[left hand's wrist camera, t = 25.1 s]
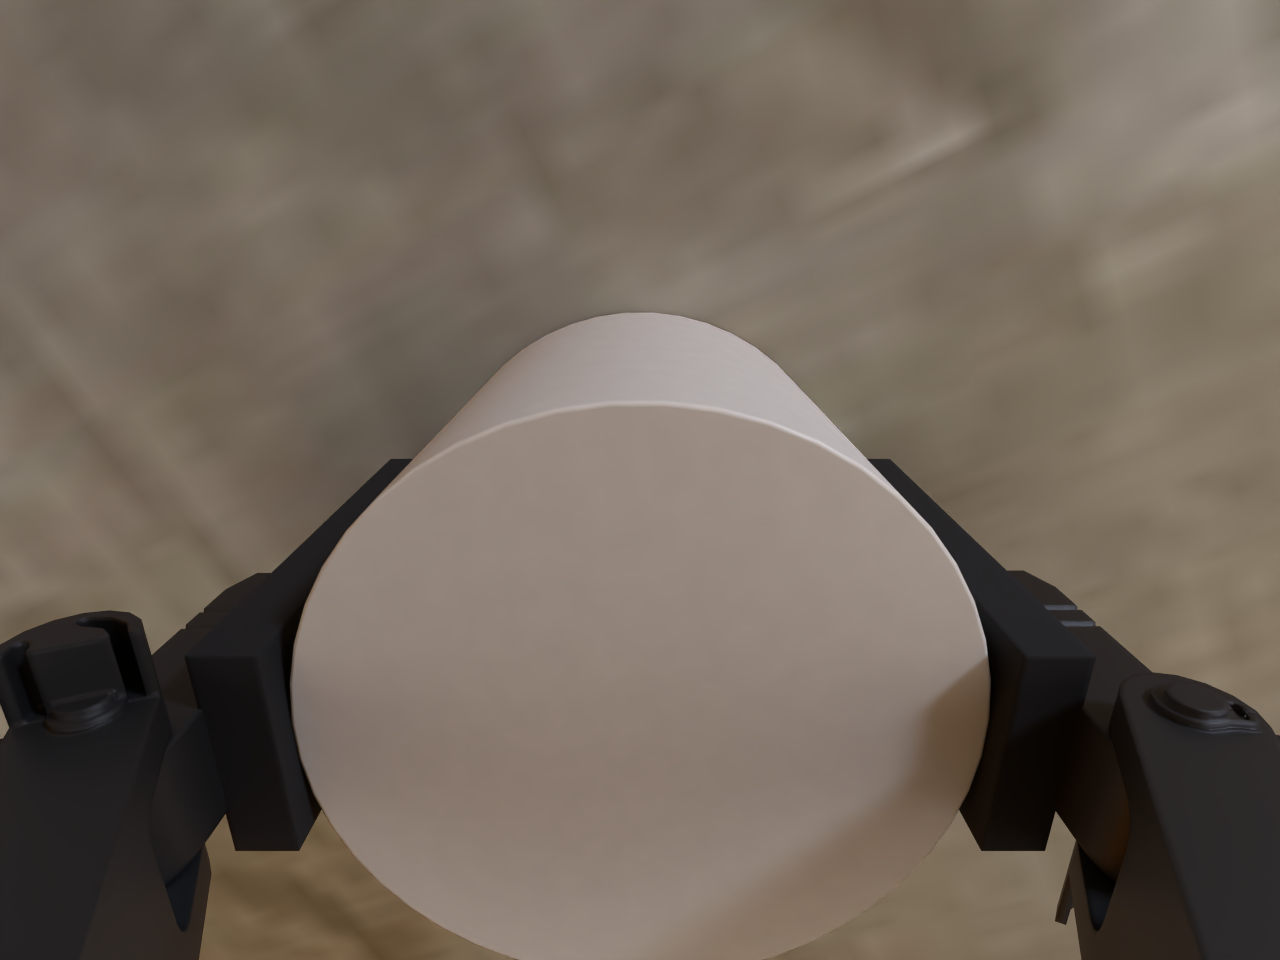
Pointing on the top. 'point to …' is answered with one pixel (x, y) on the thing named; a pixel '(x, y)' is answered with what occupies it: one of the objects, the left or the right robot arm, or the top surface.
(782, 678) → the can
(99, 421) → the top surface
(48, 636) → the left robot arm
